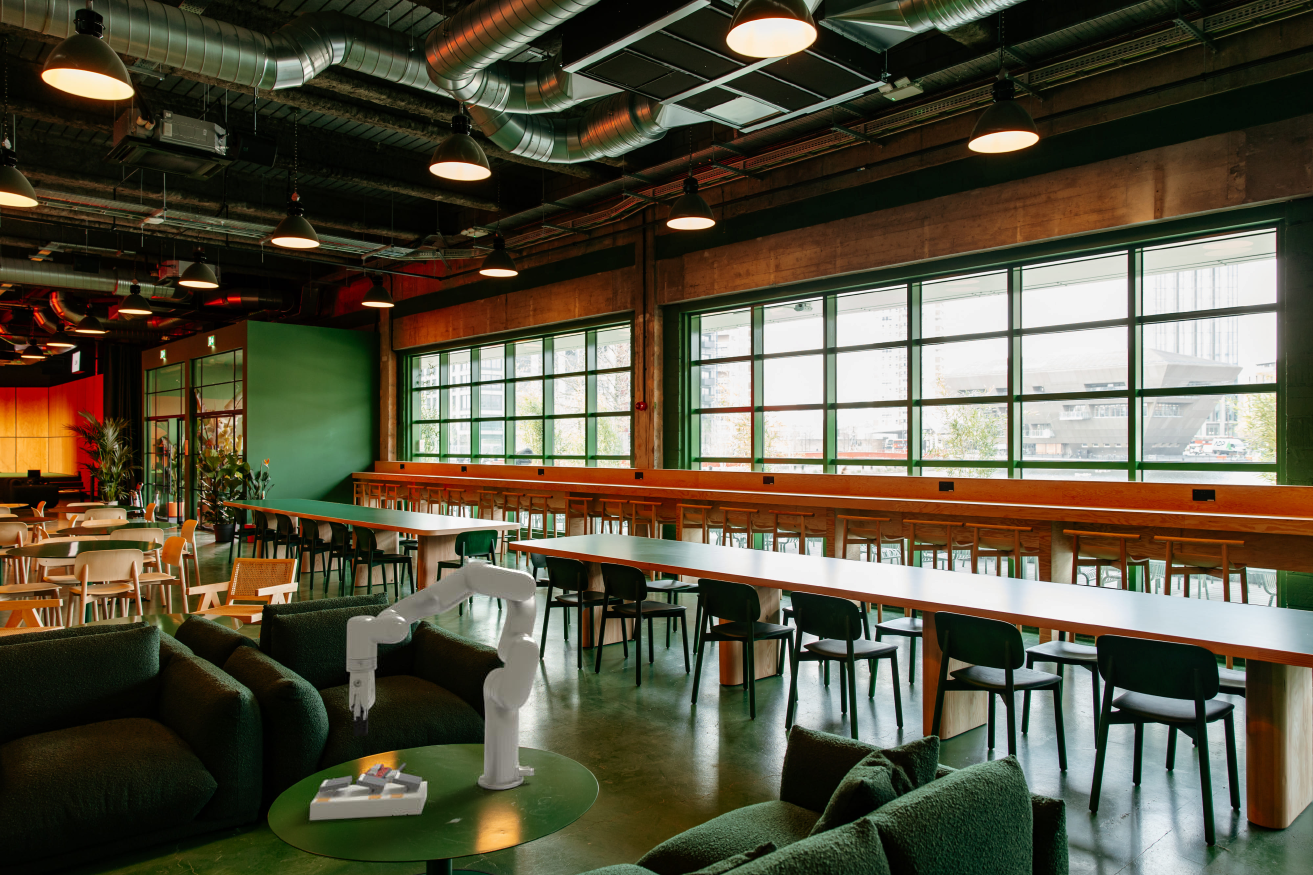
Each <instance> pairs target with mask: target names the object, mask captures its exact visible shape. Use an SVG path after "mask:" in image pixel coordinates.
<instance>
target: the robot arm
mask: <svg viewBox="0 0 1313 875" xmlns="http://www.w3.org/2000/svg"><path fill="white" fill-rule="evenodd" d="M536 590H537V583H536V579H535V578H534V577H533V575H532V574H530V573H529V572H527V571H523V570H520V569H517V568H507V567H501V566H497V565H494V564H490V563H486V562H482V561H477V560H475V561H471V562H469V563H468V562H467V564H465V565H462V566H461V567H459V568H458V569H456V570H455V571H453V572H451V573H449V574H448V575H447V576H444V577H443V578H441V579H439V580H437V581H436V582H434V583H433V584H431V585H430V586H427V587H425V588H423V589H420V590H419V591H417V592H415V593H412V594H410V595H408V596H406V597H404V598H401V599H400V600H398V601H397V602H395V603H393V604H392V605H390V606H388V607H387V608H386V609H383V610H382V611H381V612H380V613H378V615H377V616H376V617H375V616H373V615H357V616H353V617H350V618H348V620H347V623H346V672H349V673H350V674H349V675H350V676H349V692H348V693H349V696H348V702H349V703H348V705H349V706H348V707H349V711H353V736H354V737H356V736H357V737H358V736H366V735H367V734H368V733H369V731H368V730H369V718H368V717H369V716H368V715H369V710H370V709H371V708H372V706H373V705H374V704H375V702H376V684H375V683H376V682H375V680H376V679H375V678H376V677H375V670H376V669H377V668H378V664H377V663H378V662H377V661H378V658H377V656H378V644H397V643H400V642H402V641H404V640H405V639H406V638H407V636H408V635H409V632H410V625H412V624H413V623H415V622H418V621H419V620H422V619H424V618H427V617H430V616H435V615H442V614H444V613H446V612H448V611H450V610H452V609H454V608H455V607H457V606H458V605H460V604H461V603H464V602H465V601H466V600H468V599H470V598H471V597H472V596H474V595H476V594H478V595H483V596H486V597H490V598H497V599H500V600H501V599H502V600H505V601H506V602H505V603H506V608H507V609H506V616H505V620H504V624H503V627H502V631H501V634H500V638H499V642H498V645H497V650H496V651H497V656H498V658H499V659H500V660H501V661H502V663H504V667H498V668H494V669H493V670H491V671H490V672H489V673H488V674H487V676H486V678H485V680H484V683H483V700H484V716H485V717H484V719H485V720H484V759H483V760H484V761H483V762H484V763H483V770H484V771H483V774H482V775H480V776H479V777H478V781H477V782H478V785H479V786H480V787H481V788H484V789H487V790H506V789H508V790H509V789H512V788H515V787H518V786H519V785H520V786H521V785H522V783H523V782H524V776H534V775H535V768H534V767H531V766H522V765H520V761H519V746H520V744H519V737H520V736H519V734H520V731H519V730H520V729H519V728H520V712H519V710H520V709H521V708H522V707H524V706H525V704H526V703H527V702H528V700H529V698H530V695H531V692H532V690H533V684H534V683H535V682H534V681H535V678H536V674H537V671H538V667H539V661H540V655H541V654H540V653H541V652H540V647H539V644H538V643H537V641H536V640H535V639H534V638H533V637H532V636H533V632H534V627H535V622H536V619H537V612H538V609H537V608H538V607H537V601H536V596H535V593H536Z"/></svg>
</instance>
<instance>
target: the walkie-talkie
mask: <svg viewBox="0 0 1313 875" xmlns="http://www.w3.org/2000/svg"><path fill="white" fill-rule="evenodd" d="M406 766H407V764H406V762H403V763H402V764H401V765H400V766H399V767H398V768H396V769H393V768H391V767H388V766H385V765H384V763H375V764H374V765H372V767H370V768H369V769H368V770H366V772H364V773H363V774H365V775H370V776H374V777H379V778H384V779H387V783H390V782H391V783H392V782H393V778H394V776H395V774H396V772H400V773H401V772H402V770H403V769H404V768H405V767H406ZM356 783H357V780H355V784H356Z"/></svg>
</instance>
